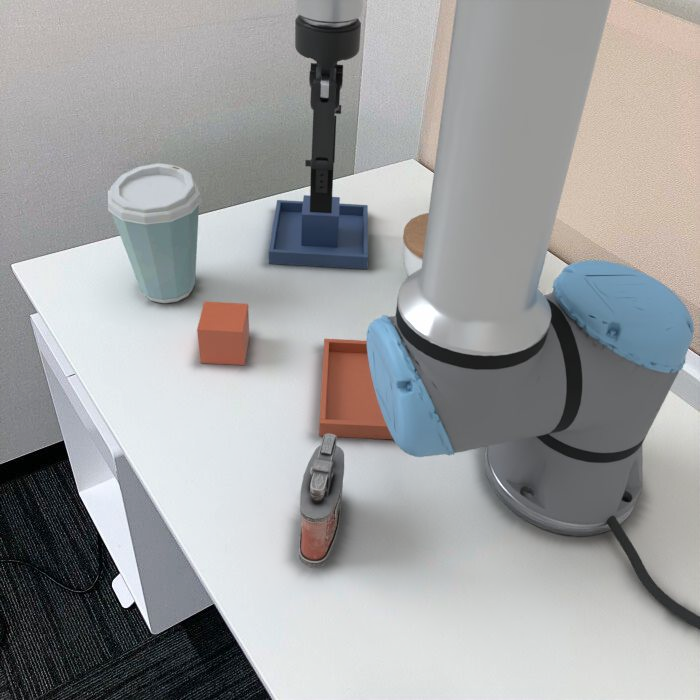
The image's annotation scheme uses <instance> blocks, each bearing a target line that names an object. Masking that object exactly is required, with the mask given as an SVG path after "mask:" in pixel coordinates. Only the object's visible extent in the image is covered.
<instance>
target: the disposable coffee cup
mask: <svg viewBox="0 0 700 700" xmlns="http://www.w3.org/2000/svg"><path fill="white" fill-rule="evenodd" d="M201 203H202V197H201V193H200V189H199V187H198V182H196V181H194V178H193V174H192V173H191V172H189V171H187V170H186V169H184V168H182V167H180V166H178V165H175V164H174V165H173V164H169V163H168V164H167V163H161V162H158V163H151V164H146V165H139V166H137V167H135V168H133V169H131V170H129V171H127V172H125V173H122V174H121V175H120V176H119V177H118V178H117V179H116V180H115V181H114V182H113V184H112V185H111V186H110V188H109V189H108V191H107V207H108V208H107V209H108V212H110V213H111V216H112V218H113V221H114V223H115V226H116V228H117V232H118V234H119V236H120V239H121V241H122V244H123V246H124V250H125V252H126V254H127V257H128V260H129V263H130V265H131V268H132V270H133V273H134V276H135V278H136V281H137V283H138V286H139V289H140V291H141V292H142V293H143V294H144V296H145V298H148V299H149V300H150V301H151V302H154V303H155V302H156V303H159V304H169V303H178V302H179V301H181V300H183V299H185V298H187V297H189V296H190V294H191V293H192V292H193V290H194V286H195V285H196V271H197V269H196V268H197V251H198V235H199V234H198V232H199V231H198V229H199V212H200V211H199V210H200V204H201Z"/></svg>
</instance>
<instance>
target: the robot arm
mask: <svg viewBox="0 0 700 700" xmlns="http://www.w3.org/2000/svg"><path fill="white" fill-rule="evenodd" d="M363 3H364V0H295V12H296V13H297V14H298V15H297V17H296V18H295V21H294V47H295V51H297V53H298V54H299V55H300V56H302V57H304V58H306V59H311V60H313V61H314V62H311V63H310V67H309V69H310V70H309V76H308V77H309V79H308V81H309V87H310V99H309V100H310V102H309V103H310V108H311V110H312V133H311V136H312V137H311V141H312V142H311V159H305V160H304V161H305V164H304V165H305V167H310V187H309V189H310V190H309V192H310V193H309V196H310V212H317V213H332V197H333V187H334V165H335V164H334V163H335V159H336V156H335V155H336V135H337V133H336V132H337V115H341V114H342V104H340V100H341V99H340V98H341V89H342V88H343V82H344V81H343V79H344V64H338V62H341V61H348V60H351V59H353V58H355V57H356V56H357V55H358V54H359V52H360V48H361V31H362V22H361V21H360V19H359V18H361V16H362V15H363V7H364V6H363V5H364V4H363ZM611 3H612V0H456V1H455V9H454V17H453V25H452V32H451V41H450V47H449V55H448V62H447V68H446V69H447V70H446V79H445V86H444V93H443V101H442V107H441V116H440V124H439V131H438V138H437V145H436V152H435V153H436V155H435V162H434V169H433V178H432V185H431V193H430V200H429V206H428V207H429V208H428V213H429V215H428V222H427V230H426V238H425V245H424V253H423V261H422V268H421V269H419V270H417V271H415V272H414V273H412V274H411V275H410V276H407V277H406V278H405V279H404V281H403V282H402V283H401V285H400V287H399V289H398V293H397V300H396V308H395V310H396V311H395V315H391V316H389V315H383V314H382V316H381V317H378V318H375V319H373V320H372V322H370V323H369V325H368V326H367V329H366V330H367V331H366V341H367V354H368V361H369V367H370V372H371V377H372V381H373V385H374V389H375V393H376V396H377V400H378V403H379V406H380V409H381V412H382V415H383V417H384V420H385V423H386V425H387V427H388V429H389V431H390V433H391V435H392V437H393V439H392V440H394V442H395V444H396V445H397V446H398V447H399V449H400V450H401V451H402V452H404V453H405V454H408V455H409V456H413V457H416V458H424V457H425V458H426V457H433V456H442V455H447V456H453V455H455V454H456V453H462V452H467V451H472V450H477V449H482V448H486V449H485V454H484V468H485V472H486V476H487V479H488V481H489V483H490V486H491V488H492V489H493V491H494V492H495V494H496V495H497V496H498V498H499V500H501V501H502V503H503V504H504V505H505V506H507V508H508V509H510V510H511V511H512V512H513V513H514V514H516V515H517V516H519V517H520V518H521V519H523V520H525V521H526V522H528V523H529V524H532V525H534V526H536V527H538V528H541V529H543V530H546V531H549V532H551V533H556V534H559V535H564V536H565V535H566V536H575V537H578V536H579V537H585V536H586V537H587V536H593V535H599V534H604V533H606V532H608V531H611V532H612V534H613V536H614V537H615V539H616V541H617V542H618V543H619V545H620V547H621V548H622V550H623V551H624V553H625V555H626V558H628V560H629V562H630V564H631V566H632V568H633V570H634V572H635V574H636V576H637V578H638V579H639V581H640V582H641V584H642V586H643V587H644V588H645V590H647V592H648V593H649V594H650V595H651V596H652V597H653V598H654V599H655V600H656V601H657V602H658V603H660V604H661V605H662V606H663V607H664V608H666V609H667V610H668V611H669V612H671V613H672V614H674V615H676V616H677V617H679V618H680V619H681V620H684V622H686V623H688V624H690V625H691V626H693V627H695V628H697V629H699V630H700V616H699V615H698V614H696V613H695V612H692V611H691V610H689V609H688V608H686V607H685V606H684V605H682V604H680V603H678V602H677V601H675V600H674V599H673V598H671V597H670V596H669V595H668V594H667V593H665V591H664V590H663V589H662V588H661V587H659V586H658V585H657V584H656V582H655V581H654V579H653V578H652V577H651V576H650V573H648V570H647V569H646V567H645V564H644V563H643V561H642V559H641V557H640V555H639V553H638V552H637V549H636V548H635V547H634V545H633V543H632V541H631V540H630V538H629V537H628V535H627V533H626V531H624V529H623V527H622V525H621V524H622V523H624V522H625V521H626V519H628V517H629V516H630V515H631V513H632V511H633V510H634V508H635V506H636V504H637V502H638V500H639V498H640V495H641V493H642V488H643V444H644V441H645V439H646V437H647V436H648V433H649V432H650V429H651V428H652V426H653V424H654V422H655V420H656V418H657V416H658V414H659V411H660V410H661V408H662V406H663V404H664V402H665V400H666V398H667V397H668V394H669V392H670V390H671V389H672V386H673V384H674V383H675V381H676V379H677V377H678V375H679V372H680V371H682V369H683V368H684V365H685V364H686V356H687V353H688V351H689V349H690V346H691V344H692V341H693V337H694V332H695V328H694V320H693V317H692V315H691V313H690V311H689V308H688V307H687V305H686V304H685V303H684V301H682V300H681V298H680V297H679V296H678V295H677V294H676V293H675V292H674V291H673V290H672V289H670V288H669V287H668V286H667V285H665V284H664V283H662V282H661V281H660V280H658V279H656V278H654V277H653V276H651V275H649V274H647V273H645V272H642V271H640V270H638V269H635V268H633V267H630V266H627V265H625V264H621V263H617V262H613V261H607V260H599V259H598V260H597V259H588V260H586V259H585V260H580V261H576V262H573V263H570V264H569V265H567V266H566V267H564V268H563V269H562V270H561V273H559V275H558V276H557V277H556V278H555V279H554V281H553V283H552V288H553V289H552V291H551V292H550V293H548V294H544V293H543V292H542V291H541V290H540V289H539V286H540V282H541V277H542V272H543V269H544V265H545V261H546V257H547V254H548V250H549V246H550V241H551V239H552V234H553V231H554V226H555V222H556V218H557V214H558V210H559V206H560V203H561V199H562V195H563V192H564V187H565V183H566V179H567V175H568V171H569V167H570V163H571V160H572V155H573V152H574V147H575V144H576V141H577V137H578V132H579V128H580V125H581V120H582V118H583V112H584V109H585V105H586V100H587V97H588V93H589V89H590V85H591V81H592V78H593V74H594V69H595V66H596V62H597V59H598V54H599V50H600V46H601V42H602V38H603V34H604V31H605V27H606V23H607V20H608V15H609V11H610V8H611ZM336 114H337V115H336Z"/></svg>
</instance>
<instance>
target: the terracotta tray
mask: <svg viewBox="0 0 700 700" xmlns="http://www.w3.org/2000/svg"><path fill="white" fill-rule="evenodd" d="M321 375H322V376H321V390H320V404H319V405H320V406H319V407H320V408H319V425H318V437H324V435H325V434H333V435H335V436H336V437H337V438H353V439H354V438H357V439H375V440H376V439H378V440H394V439H393V437H392V435H391V433H390V431H389V429H388V427H387V425H386V423H385V420H384V417H383V415H382V412H381V409H380V406H379V403H378V400H377V396H376V393H375V389H374V385H373V381H372V377H371V372H370V367H369V361H368V354H367V340H363V339H345V338H344V339H340V338H323V354H322V371H321Z"/></svg>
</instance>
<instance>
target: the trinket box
mask: <svg viewBox="0 0 700 700" xmlns="http://www.w3.org/2000/svg"><path fill="white" fill-rule="evenodd" d="M428 215H429V212H426V213H422V214H419V215H416V216H415V217H412V218H411V219H410V220H409V221H408V222H407V223H406V224H405V226H404V228H403V237H402V239H403V243H402V262H403V266H404V270H405V272H406V275H407V277H409V276H410V275H411V274H412V273H414V272H415V271H417V270H419V269H421V268H422V261H423V253H424V245H425V238H426V230H427V222H428Z"/></svg>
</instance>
